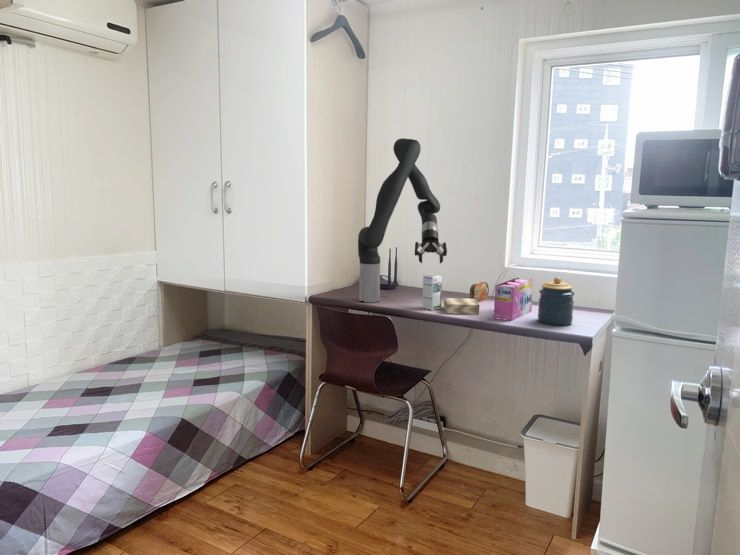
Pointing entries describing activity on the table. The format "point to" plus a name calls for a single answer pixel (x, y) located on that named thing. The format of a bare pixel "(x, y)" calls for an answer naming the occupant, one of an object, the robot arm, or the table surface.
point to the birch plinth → (461, 306)
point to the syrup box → (432, 291)
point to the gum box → (513, 299)
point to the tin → (479, 291)
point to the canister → (556, 303)
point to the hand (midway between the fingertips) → (431, 262)
